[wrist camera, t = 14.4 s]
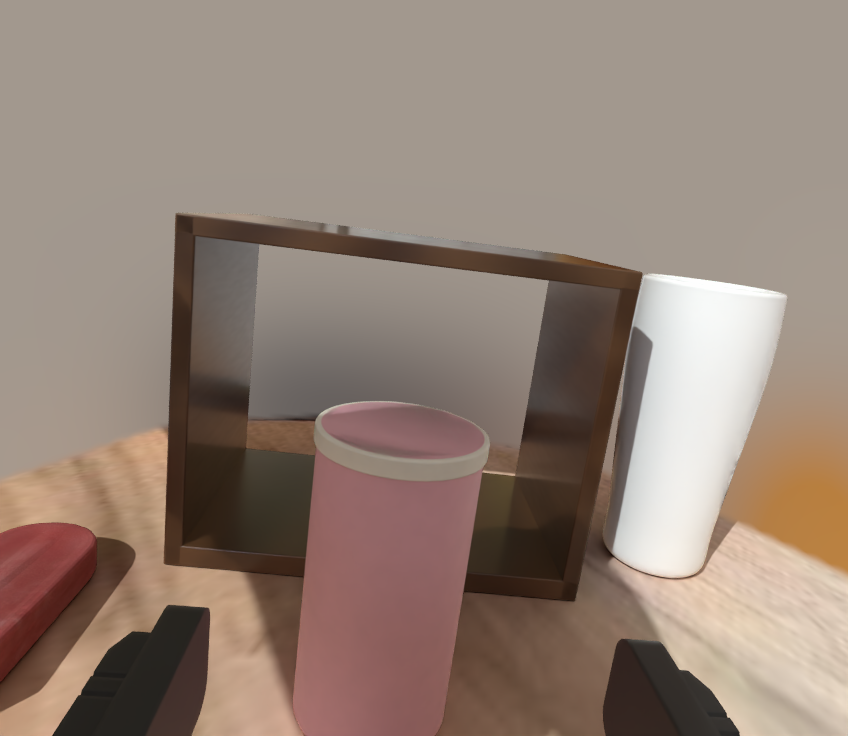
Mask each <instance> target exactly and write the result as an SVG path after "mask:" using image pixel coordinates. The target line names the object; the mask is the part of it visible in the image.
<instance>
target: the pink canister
mask: <svg viewBox="0 0 848 736" xmlns="http://www.w3.org/2000/svg"><path fill="white" fill-rule="evenodd" d="M314 443H315V445H316V453H315V464H314V475H313V486H312V497H311V507H310V518H309V529H308V540H307V551H306V562H305V572H304V583H303V594H302V605H301V616H300V627H299V637H298V648H297V659H296V670H295V681H294V692H293V710H294V715H295V718H296V720H297V722H298V725H299V726H300V728H301V730H302V731H303V733H304V734H305V735H306V736H435V735H436V734H437V732H438V730H439V728H440V726H441V723H442V721H443V716H444V710H445V703H446V697H447V691H448V685H449V678H450V672H451V666H452V659H453V653H454V647H455V641H456V634H457V628H458V622H459V615H460V609H461V603H462V597H463V590H464V584H465V578H466V571H467V565H468V559H469V553H470V546H471V540H472V534H473V527H474V521H475V515H476V509H477V502H478V496H479V490H480V483H481V477H482V471H483V467H484V466H485V464H486V462H487V460H488V454H489V448H490V439H489V436H488V435H487V433H486V432H485V431H484V430H483V429H482V428H481V427H479V426H478V425H476V424H475V423H473V422H471V421H469V420H467V419H465V418H463V417H461V416H458V415H455V414H453V413H450V412H447V411H443V410H440V409H436V408H432V407H427V406H422V405H416V404H409V403H401V402H388V401H365V402H354V403H347V404H342V405H338V406H334V407H331V408H329V409H327V410H325V411H323V412H322V413H321V414H319V415H318V417H317V419H316V421H315V428H314Z"/></svg>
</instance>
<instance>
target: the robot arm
mask: <svg viewBox="0 0 848 736" xmlns="http://www.w3.org/2000/svg"><path fill="white" fill-rule="evenodd" d="M209 628H210V611H209V608H204V607H190V606H176V605H168V606H167V607H166V608H165V609H164V611H163V613H162V615H161V616H160V618H159V620H158V621H157V623H156V625H155V627H154V628H153V630H152V632H151V633H148V632H133V631H132V632H131V633H130V634H128V635H127V636H126V637H124V638H123V639H122V640H121V641H119V642H118V643H117V644H115V645H114V646H113V647H111V648H110V649H109V650H108V651H107V653H106V654H105V656H104V657H103V659H102V660H101V662H100V663H99V665H98V666H97V668H96V669H95V671H94V674H93V676H91V677H90V679H89V680H88V682H87V683H86V685H85V686H84V688H83V689H82V692H81V695H78V697H77V698H76V700H75V702H74V703H73V705H72V706H71V708H70V709H69V711H68V712H67V714H66V715H65V717H64V718H63V720H62V721H61V723H60V724H59V726H58V728H57V729H56V731H55V732H54V734H53V735H52V736H191V735H192V733H193V730H194V727H195V725H196V722H197V720H198V717H199V714H200V711H201V708H202V704H203V700H204V695H205V690H206V684H207V671H208V650H209ZM603 722H604V730H605V734H606V736H740V735H739V731H738V729H737V728H736V726H735V725H734V723H733V722H732V720H731V719H730V718H727V713H726V712H725V710H724V709H723V707H722V706H721V704H720V703H719V701H718V700H717V698H716V697H715V695H714V694H713V693H712V691H711V690H710V689H709V688H707V687H706V686H705V685H704V684H703V683H702V682H700V681H699V680H698V679H697V678H696V677H695V676H694V675H692V674H691V673H690V672H689V671H684V670H679V669H678V667H677V666H676V664H675V662H674V661H673V659H672V658H671V656H670V655H669V653H668V652H667V650H666V648H665V647H664V646H663V644H662V643H661V642H659V641H646V640H632V639H621V640H620V641H619V642H618V643H617V646H616V649H615V654H614V659H613V663H612V668H611V672H610V677H609V682H608V686H607V691H606V696H605V700H604V706H603Z"/></svg>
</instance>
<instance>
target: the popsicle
mask: <svg viewBox="0 0 848 736" xmlns="http://www.w3.org/2000/svg"><path fill="white" fill-rule="evenodd" d="M96 566H97V539H96V537H95V535H94V534H93V533H92V531H90V530H89V529H87V528H85V527H81V526H78V525H75V524H68V523H38V524H31V525H26V526H21V527H17V528H13V529H10V530H7V531H5V532H3V533H0V682H1V681H2V680H3V679H4V678H5V676H6V675H7V674H8V673H9V672H10V671H11V670H12V668H13V667H14V666H15V665H16V664H17V663H18V662H19V660H20V659H21V658H22V657H23V656H24V655H25V654H26V652H27V651H28V650H29V649H30V648H31V647H32V645H33V644H34V643H35V642H36V641H37V640H38V639H39V637H40V636H41V635H42V634H43V633H44V632H45V631H46V629H47V628H48V627H49V626H50V625H51V624H52V623H53V621H54V620H55V619H56V618H57V617H58V616H59V614H60V613H61V612H62V611H63V610H64V609H65V608H66V606H67V605H68V604H69V603H70V602H71V601H72V600H73V598H74V597H75V596H76V595H77V594H78V593H79V591H80V590H81V589H82V588H83V587H84V586H85V584H86V583H87V582H88V581H89V579H90V578H91V576H92V575H93V573H94V572H95V569H96Z"/></svg>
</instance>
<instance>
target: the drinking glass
mask: <svg viewBox="0 0 848 736" xmlns="http://www.w3.org/2000/svg"><path fill="white" fill-rule="evenodd" d="M786 302H787V295H786V294H784V293H780V292H776V291H770V290H766V289H760V288H754V287H748V286H742V285H736V284H729V283H723V282H716V281H709V280H702V279H694V278H686V277H679V276H670V275H660V274H645V275H644V276H643V279H642V283H641V287H640V290H639V294H638V298H637V303H636V308H635V313H634V318H633V322H632V327H631V332H630V337H629V342H628V347H627V351H626V357H625V364H624V373H623V382H622V390H621V399H620V408H619V417H618V426H617V434H616V443H615V452H614V460H613V469H612V477H611V485H610V493H609V501H608V507H607V512H606V517H605V522H604V526H603V541H604V543H605V546H606V547H607V549H608V550H609V551H610V552H611V553H612V555H614V556H615V557H616V558H617V559H618V560H620V561H621V562H623V563H625V564H626V565H628V566H630V567H632V568H634V569H636V570H639V571H641V572H644V573H647V574H651V575H655V576H659V577H666V578H683V577H688V576H691V575H693V574H695V573H697V572H698V571H699V570H700V569H701V568H702V566H703V564H704V562H705V559H706V555H707V551H708V547H709V543H710V539H711V536H712V533H713V530H714V527H715V524H716V521H717V518H718V515H719V513H720V510H721V507H722V504H723V501H724V498H725V496H726V493H727V490H728V487H729V485H730V482H731V479H732V476H733V474H734V471H735V468H736V465H737V463H738V460H739V457H740V455H741V452H742V449H743V446H744V444H745V441H746V438H747V436H748V433H749V430H750V427H751V425H752V422H753V419H754V417H755V414H756V411H757V409H758V406H759V403H760V400H761V397H762V394H763V392H764V389H765V386H766V383H767V380H768V377H769V373H770V370H771V367H772V363H773V360H774V356H775V352H776V348H777V344H778V340H779V336H780V331H781V326H782V322H783V317H784V312H785V306H786Z"/></svg>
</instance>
